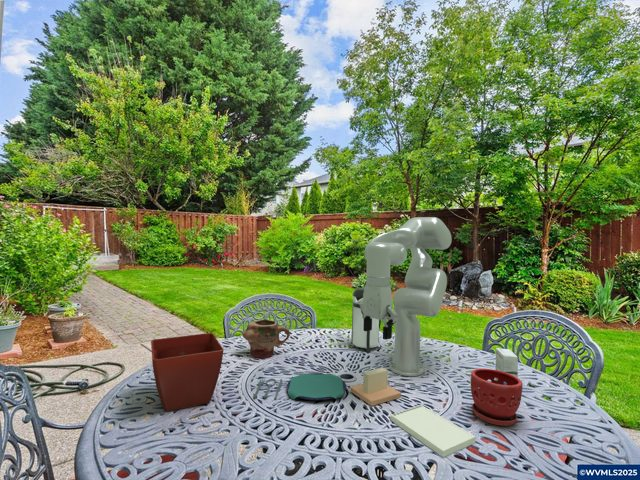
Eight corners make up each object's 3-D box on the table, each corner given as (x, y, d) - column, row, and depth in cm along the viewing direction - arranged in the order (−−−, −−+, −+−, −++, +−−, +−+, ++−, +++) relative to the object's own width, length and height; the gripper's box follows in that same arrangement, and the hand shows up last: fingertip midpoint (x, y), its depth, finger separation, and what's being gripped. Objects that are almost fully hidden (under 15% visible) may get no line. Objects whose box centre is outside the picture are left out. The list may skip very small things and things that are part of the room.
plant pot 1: (150, 421, 90) (152, 359, 90) (149, 391, 107) (150, 339, 107) (223, 406, 99) (224, 349, 99) (211, 381, 116) (212, 332, 116)
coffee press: (386, 353, 148) (388, 285, 147) (350, 352, 148) (351, 284, 147) (380, 341, 165) (381, 280, 165) (347, 340, 165) (348, 279, 165)
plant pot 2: (520, 435, 88) (522, 390, 88) (466, 420, 95) (467, 378, 95) (521, 414, 99) (522, 373, 99) (473, 401, 106) (474, 363, 106)
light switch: (350, 391, 111) (350, 368, 110) (378, 383, 117) (378, 362, 117) (371, 406, 101) (372, 381, 101) (401, 397, 107) (401, 374, 107)
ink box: (518, 391, 114) (519, 356, 114) (502, 389, 115) (503, 355, 115) (509, 380, 122) (510, 348, 122) (494, 379, 123) (495, 347, 123)
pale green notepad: (390, 420, 94) (390, 414, 94) (420, 409, 100) (421, 404, 100) (443, 457, 78) (443, 450, 78) (475, 442, 84) (475, 436, 84)
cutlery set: (348, 405, 102) (348, 398, 102) (249, 404, 102) (249, 397, 102) (344, 378, 122) (344, 372, 122) (261, 377, 122) (261, 371, 122)
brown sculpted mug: (288, 349, 151) (289, 318, 150) (290, 359, 138) (291, 325, 138) (243, 350, 148) (243, 318, 147) (240, 360, 136) (241, 326, 135)
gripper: (352, 279, 114) (352, 329, 114) (387, 286, 99) (386, 344, 100) (370, 277, 118) (369, 326, 118) (406, 285, 103) (404, 340, 103)
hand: (377, 334), depth 109 cm, fingers open, 9 cm apart
